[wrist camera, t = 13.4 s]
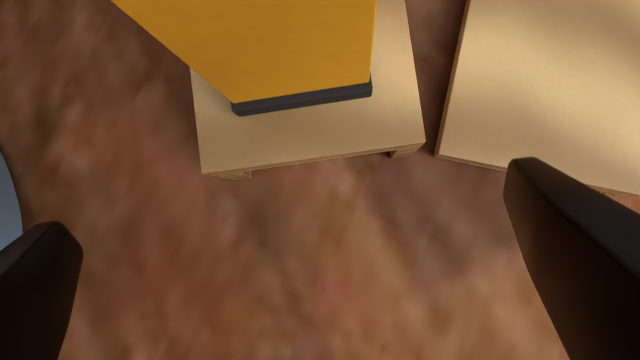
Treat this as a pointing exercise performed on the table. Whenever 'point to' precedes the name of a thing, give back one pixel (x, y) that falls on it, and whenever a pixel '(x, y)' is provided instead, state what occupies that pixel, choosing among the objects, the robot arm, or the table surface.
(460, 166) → the table surface
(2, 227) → the shoe
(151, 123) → the table surface
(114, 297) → the table surface
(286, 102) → the rain boot
